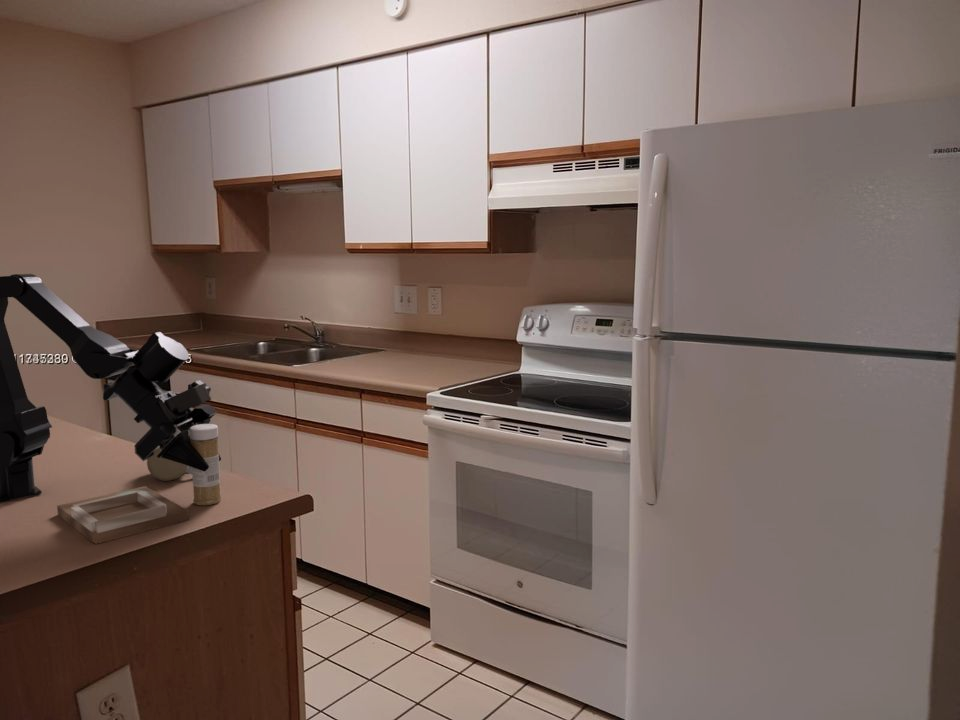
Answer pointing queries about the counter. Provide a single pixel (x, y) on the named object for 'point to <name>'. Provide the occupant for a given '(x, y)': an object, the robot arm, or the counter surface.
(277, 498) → the counter surface
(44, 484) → the counter surface
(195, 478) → the sprinkles bottle
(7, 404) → the robot arm
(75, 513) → the socket board
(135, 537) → the counter surface
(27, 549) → the counter surface
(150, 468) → the ceramic mug
